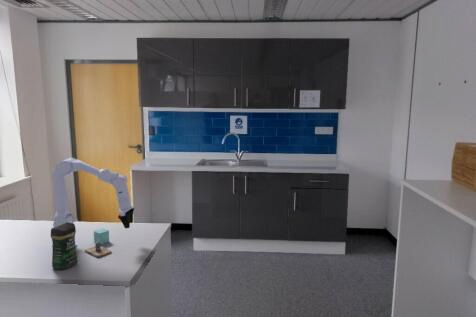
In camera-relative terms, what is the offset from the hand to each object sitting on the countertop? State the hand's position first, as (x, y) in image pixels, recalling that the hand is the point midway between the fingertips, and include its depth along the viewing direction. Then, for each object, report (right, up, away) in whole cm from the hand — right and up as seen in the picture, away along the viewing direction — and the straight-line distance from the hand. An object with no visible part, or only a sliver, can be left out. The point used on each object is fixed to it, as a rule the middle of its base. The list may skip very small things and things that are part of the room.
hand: (129, 225), depth 163 cm
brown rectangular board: (-12, -11, -7) cm, 18 cm away
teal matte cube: (-16, -10, +5) cm, 19 cm away
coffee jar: (-21, -14, -21) cm, 32 cm away
